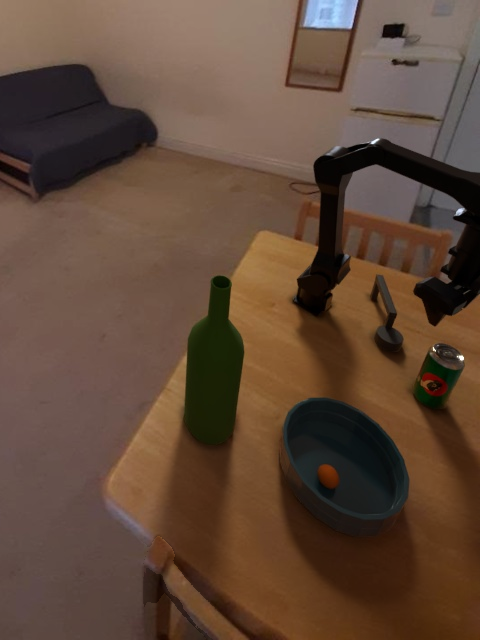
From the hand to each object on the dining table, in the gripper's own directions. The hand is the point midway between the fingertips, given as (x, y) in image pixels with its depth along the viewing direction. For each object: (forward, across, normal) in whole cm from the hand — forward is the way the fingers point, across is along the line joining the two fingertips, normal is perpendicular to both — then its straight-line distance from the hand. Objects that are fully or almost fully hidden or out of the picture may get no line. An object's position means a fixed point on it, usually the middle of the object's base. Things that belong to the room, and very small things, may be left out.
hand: (447, 315), depth 75 cm
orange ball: (+11, -35, -6) cm, 37 cm away
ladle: (+14, +2, +11) cm, 17 cm away
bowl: (+14, -32, -5) cm, 35 cm away
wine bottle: (+14, -45, +11) cm, 49 cm away
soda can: (+14, -7, -4) cm, 16 cm away
